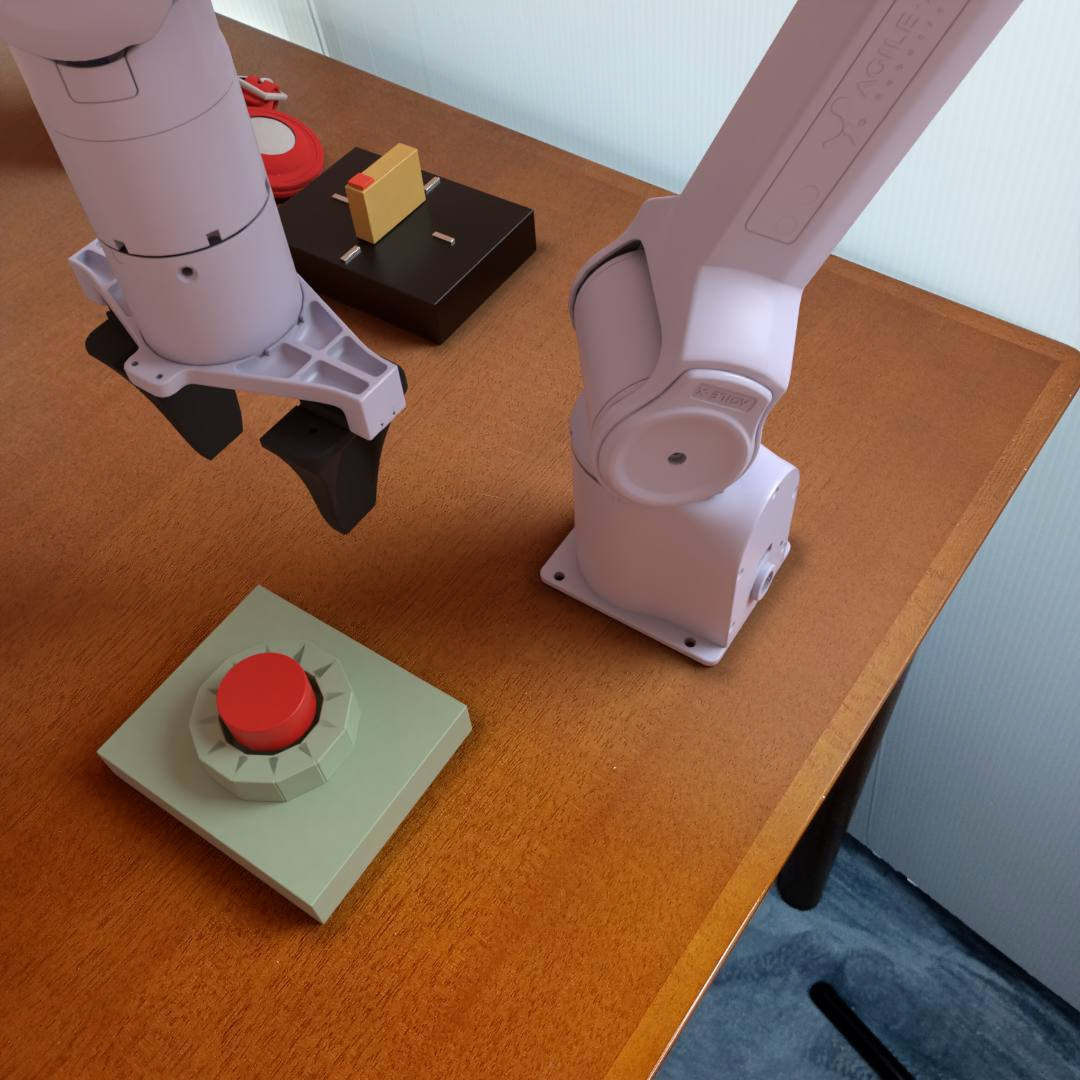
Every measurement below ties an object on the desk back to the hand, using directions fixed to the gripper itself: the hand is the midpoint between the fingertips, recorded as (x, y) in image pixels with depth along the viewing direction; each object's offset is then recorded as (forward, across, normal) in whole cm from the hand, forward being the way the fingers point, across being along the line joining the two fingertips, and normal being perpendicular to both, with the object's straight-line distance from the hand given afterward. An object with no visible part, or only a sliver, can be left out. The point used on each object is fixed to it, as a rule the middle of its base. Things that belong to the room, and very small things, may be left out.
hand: (286, 478), depth 45 cm
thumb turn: (+5, -13, +21) cm, 26 cm away
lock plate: (+8, -13, +22) cm, 26 cm away
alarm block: (+8, +4, -7) cm, 12 cm away
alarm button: (+5, +4, -7) cm, 10 cm away
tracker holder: (+8, -28, +25) cm, 39 cm away
